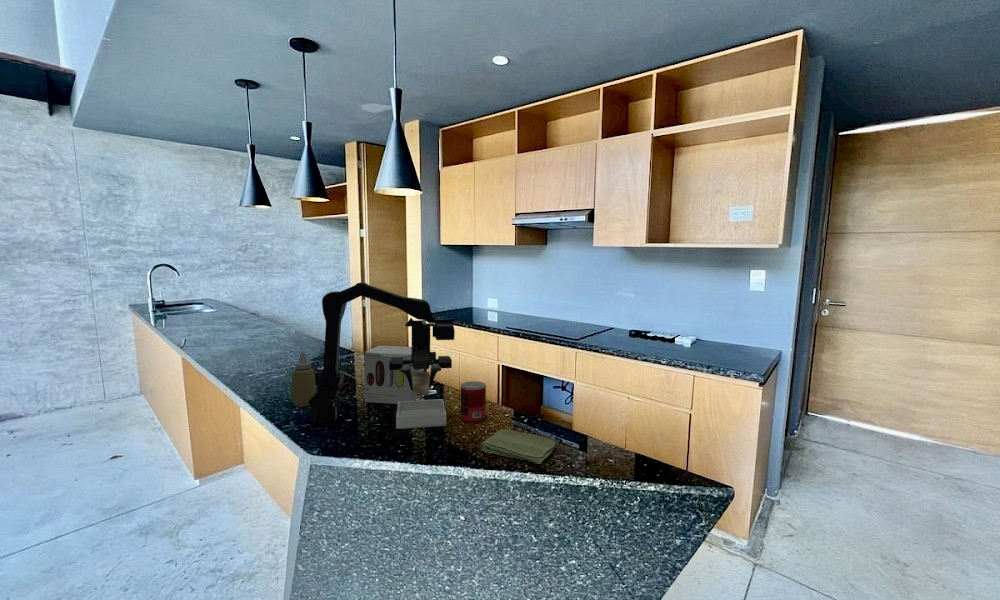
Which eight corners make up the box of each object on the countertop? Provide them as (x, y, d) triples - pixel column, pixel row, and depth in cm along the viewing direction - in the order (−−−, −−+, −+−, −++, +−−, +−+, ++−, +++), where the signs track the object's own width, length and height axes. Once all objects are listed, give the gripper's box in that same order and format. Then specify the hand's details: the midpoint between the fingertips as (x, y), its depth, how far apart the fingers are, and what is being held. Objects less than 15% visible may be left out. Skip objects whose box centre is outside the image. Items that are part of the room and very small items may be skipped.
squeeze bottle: (285, 406, 138) (283, 353, 136) (304, 399, 145) (303, 349, 144) (303, 409, 135) (301, 355, 133) (322, 402, 142) (321, 351, 141)
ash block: (412, 395, 125) (412, 376, 125) (412, 391, 130) (412, 372, 129) (429, 395, 126) (429, 376, 126) (428, 390, 131) (428, 372, 131)
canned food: (489, 416, 131) (489, 382, 130) (477, 425, 123) (478, 389, 123) (468, 413, 134) (468, 380, 133) (455, 421, 127) (456, 386, 126)
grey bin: (396, 428, 120) (396, 417, 119) (398, 411, 134) (397, 401, 134) (446, 425, 123) (446, 414, 122) (442, 409, 137) (442, 399, 137)
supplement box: (363, 403, 142) (363, 351, 141) (379, 392, 156) (379, 345, 154) (411, 405, 140) (411, 353, 139) (423, 394, 154) (423, 346, 152)
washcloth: (542, 469, 97) (542, 456, 97) (477, 454, 105) (477, 442, 105) (559, 448, 109) (559, 436, 109) (499, 435, 117) (499, 424, 117)
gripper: (388, 345, 117) (388, 399, 118) (453, 344, 121) (453, 396, 122) (390, 339, 128) (390, 388, 129) (450, 338, 131) (449, 385, 133)
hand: (420, 389), depth 128 cm, fingers closed on ash block, 5 cm apart
